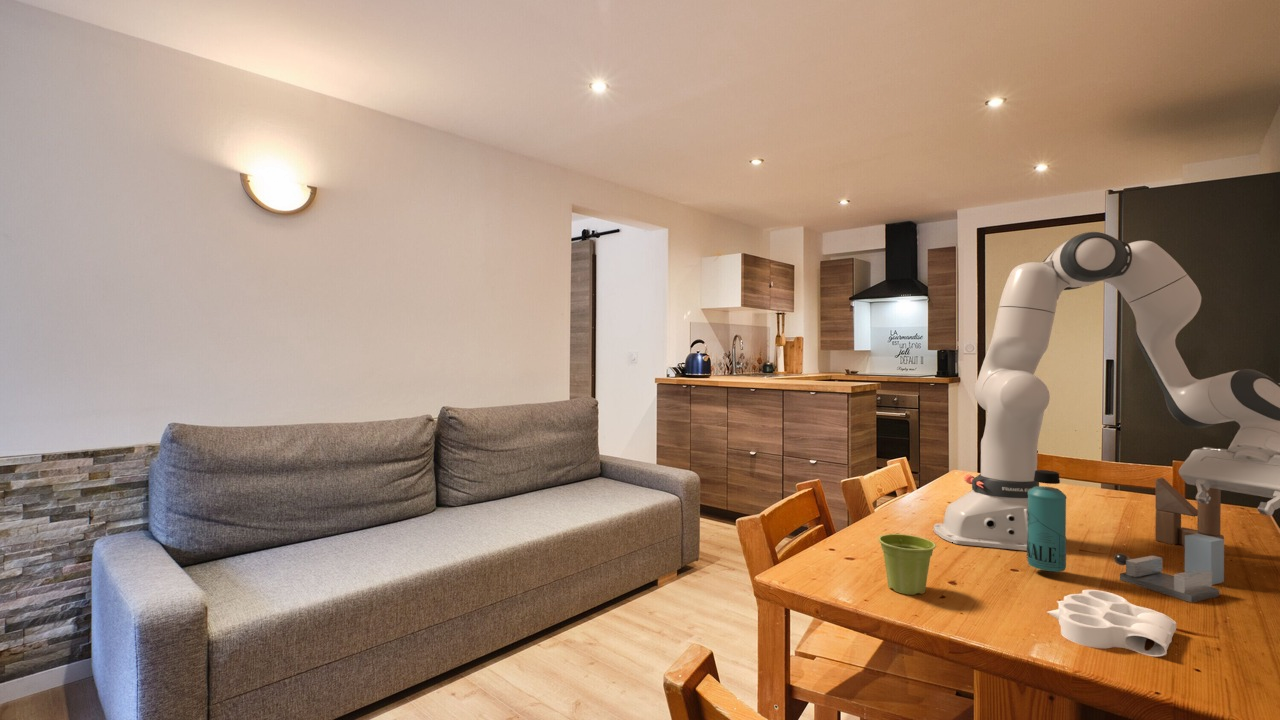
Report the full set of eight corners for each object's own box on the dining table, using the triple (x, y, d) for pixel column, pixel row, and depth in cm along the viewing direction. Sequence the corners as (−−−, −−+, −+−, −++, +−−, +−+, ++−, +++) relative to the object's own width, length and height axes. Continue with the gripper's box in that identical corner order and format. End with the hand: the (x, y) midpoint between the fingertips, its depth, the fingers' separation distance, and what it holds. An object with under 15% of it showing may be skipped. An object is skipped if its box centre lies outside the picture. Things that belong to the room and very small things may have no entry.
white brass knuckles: (1162, 671, 80) (1035, 634, 90) (1178, 630, 92) (1065, 601, 103) (1162, 646, 80) (1035, 612, 90) (1179, 608, 92) (1065, 582, 103)
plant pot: (881, 576, 113) (881, 530, 113) (936, 584, 109) (936, 537, 109) (875, 593, 105) (875, 544, 105) (934, 603, 101) (935, 552, 101)
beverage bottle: (1060, 569, 116) (1060, 468, 116) (1072, 582, 110) (1073, 475, 110) (1022, 566, 119) (1022, 466, 118) (1031, 577, 112) (1032, 472, 112)
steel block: (1211, 585, 109) (1211, 541, 109) (1184, 577, 113) (1184, 535, 112) (1223, 582, 110) (1224, 539, 110) (1197, 574, 114) (1197, 533, 114)
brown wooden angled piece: (1161, 538, 137) (1162, 460, 137) (1224, 552, 127) (1224, 468, 127) (1154, 541, 135) (1154, 462, 135) (1217, 554, 125) (1217, 470, 125)
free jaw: (1134, 577, 109) (1135, 563, 109) (1101, 566, 114) (1101, 553, 114) (1162, 571, 112) (1162, 557, 112) (1128, 561, 117) (1128, 548, 117)
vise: (1191, 602, 101) (1191, 579, 101) (1119, 579, 111) (1120, 558, 111) (1219, 596, 104) (1219, 573, 104) (1146, 574, 114) (1147, 553, 114)
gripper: (1189, 436, 127) (1160, 485, 123) (1327, 450, 108) (1297, 509, 104) (1202, 455, 128) (1174, 504, 125) (1339, 473, 109) (1310, 531, 106)
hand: (1231, 506), depth 114 cm, fingers open, 8 cm apart
